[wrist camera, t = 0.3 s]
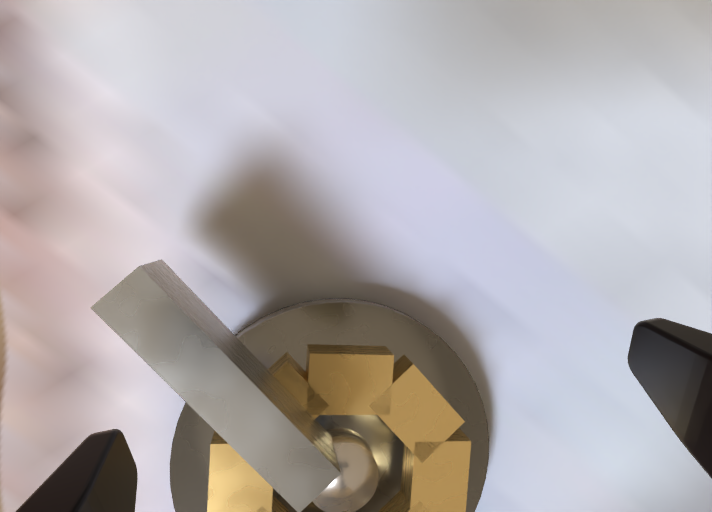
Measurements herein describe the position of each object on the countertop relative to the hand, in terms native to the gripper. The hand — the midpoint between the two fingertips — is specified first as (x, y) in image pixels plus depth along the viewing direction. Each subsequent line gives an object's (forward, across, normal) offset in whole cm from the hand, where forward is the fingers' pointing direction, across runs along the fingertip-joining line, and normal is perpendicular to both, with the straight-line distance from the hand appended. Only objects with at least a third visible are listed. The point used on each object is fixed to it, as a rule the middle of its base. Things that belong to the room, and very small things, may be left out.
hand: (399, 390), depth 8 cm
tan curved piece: (+10, +2, +10) cm, 15 cm away
